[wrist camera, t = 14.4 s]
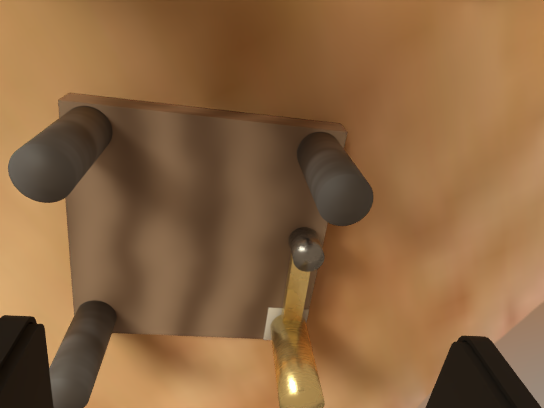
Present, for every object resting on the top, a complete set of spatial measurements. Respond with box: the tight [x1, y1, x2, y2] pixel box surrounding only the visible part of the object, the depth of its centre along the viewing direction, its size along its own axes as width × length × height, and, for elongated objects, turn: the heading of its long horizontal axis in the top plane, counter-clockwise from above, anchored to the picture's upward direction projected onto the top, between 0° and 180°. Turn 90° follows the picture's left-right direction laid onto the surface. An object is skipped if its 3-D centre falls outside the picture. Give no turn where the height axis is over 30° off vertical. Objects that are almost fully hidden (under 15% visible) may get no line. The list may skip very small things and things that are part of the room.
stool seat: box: [8, 93, 373, 408], centre depth 35 cm, size 22×22×12 cm
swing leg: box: [270, 227, 324, 408], centre depth 37 cm, size 13×4×9 cm, turn 173°
